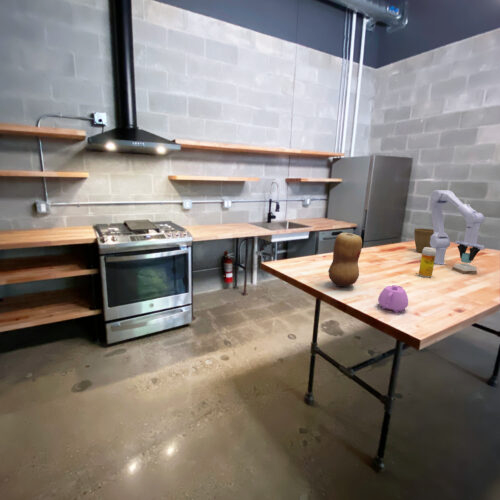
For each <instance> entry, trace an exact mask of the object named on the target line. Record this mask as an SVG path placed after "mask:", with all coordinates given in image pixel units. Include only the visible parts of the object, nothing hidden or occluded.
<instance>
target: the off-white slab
mask: <svg viewBox="0 0 500 500" xmlns="http://www.w3.org/2000/svg"><path fill="white" fill-rule="evenodd" d="M453 267H455V268H458V269H460V270H463V271H477V269H478V267H477V266H475V265H472V264H470V263H454V266H453Z"/></svg>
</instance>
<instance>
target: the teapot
mask: <svg viewBox="0 0 500 500" xmlns="http://www.w3.org/2000/svg"><path fill="white" fill-rule="evenodd" d="M377 301H378V305H380V306H381V309H383V310H393V312H394V313H396V314H398V313H400V311H404V310H405V309H406V308H408V306H409V297H408V295H407V292H406V290H405V289H404V288H403V286H401V285H397V284H396V285H395V284H393V285H386V286H385V288H383V289H382V290H381V292H380V294H379V296H378V300H377Z"/></svg>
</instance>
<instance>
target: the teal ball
mask: <svg viewBox="0 0 500 500" xmlns="http://www.w3.org/2000/svg"><path fill="white" fill-rule="evenodd" d="M469 256H470V252H466V253H462V258H460V262H461V263H463V264H471V263H472V261H469Z"/></svg>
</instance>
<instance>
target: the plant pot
mask: <svg viewBox="0 0 500 500" xmlns="http://www.w3.org/2000/svg"><path fill="white" fill-rule="evenodd" d="M413 231H414V232H413V233H414V242H415V243H414V245H415V249H416V252H417V253H419V254H422V251H423V249H424V247H430V248H431V246H430V240H431V236H432V235H433V234H434V229H433V228H432V229H431V228H414V230H413Z"/></svg>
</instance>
